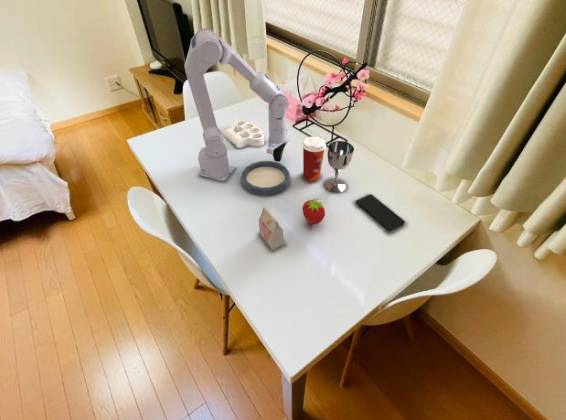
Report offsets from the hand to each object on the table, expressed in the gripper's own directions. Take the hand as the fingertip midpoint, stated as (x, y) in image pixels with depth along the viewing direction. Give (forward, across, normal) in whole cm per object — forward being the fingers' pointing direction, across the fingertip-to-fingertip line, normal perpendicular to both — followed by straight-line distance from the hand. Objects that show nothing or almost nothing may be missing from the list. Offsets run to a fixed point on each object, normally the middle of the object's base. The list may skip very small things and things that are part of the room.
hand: (277, 160), depth 111 cm
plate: (+1, -11, 0) cm, 11 cm away
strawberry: (+2, -25, -21) cm, 33 cm away
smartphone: (+1, -13, -39) cm, 41 cm away
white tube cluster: (+2, +12, +19) cm, 23 cm away
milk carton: (+2, -35, -12) cm, 37 cm away
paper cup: (+2, -3, -14) cm, 14 cm away
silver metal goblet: (+2, -5, -23) cm, 24 cm away
